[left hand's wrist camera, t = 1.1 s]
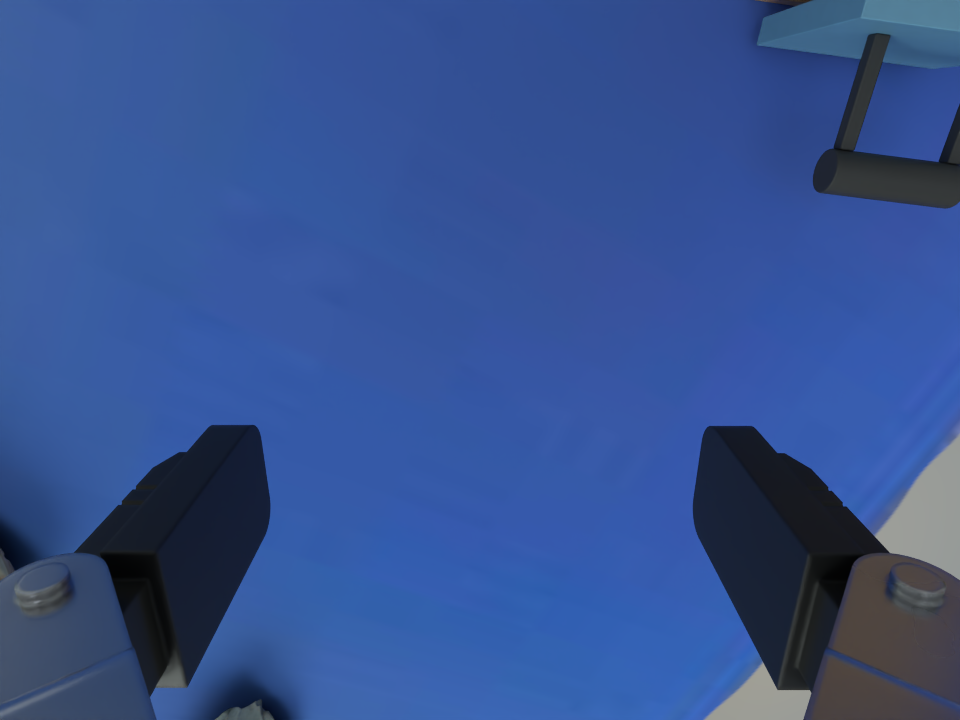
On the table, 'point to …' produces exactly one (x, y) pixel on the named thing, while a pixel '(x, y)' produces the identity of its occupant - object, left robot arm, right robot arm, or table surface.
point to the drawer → (874, 39)
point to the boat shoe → (5, 566)
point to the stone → (247, 713)
